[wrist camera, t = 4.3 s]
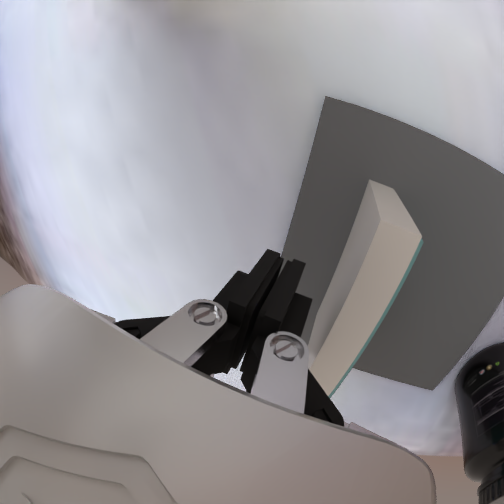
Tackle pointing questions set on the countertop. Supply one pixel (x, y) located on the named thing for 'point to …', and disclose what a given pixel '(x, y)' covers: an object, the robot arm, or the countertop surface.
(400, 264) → the block
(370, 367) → the mat
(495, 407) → the supplement bottle
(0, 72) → the countertop surface
